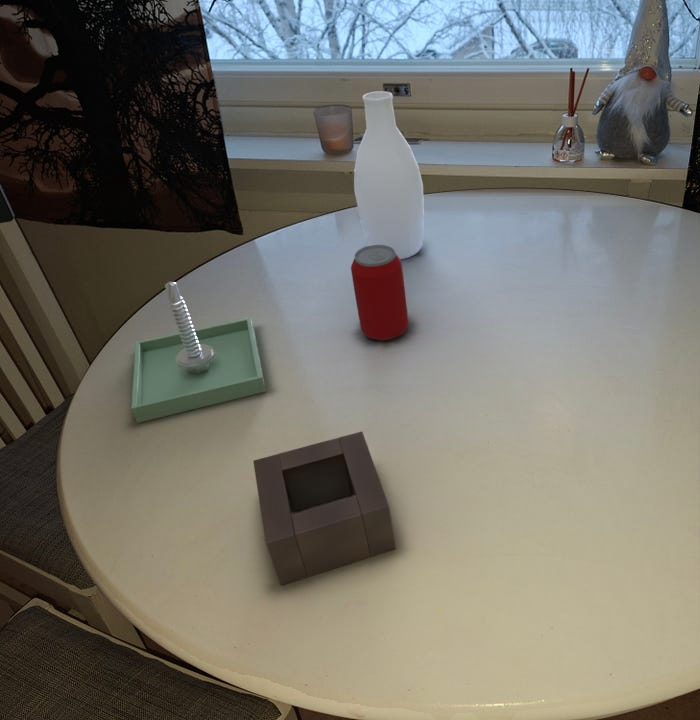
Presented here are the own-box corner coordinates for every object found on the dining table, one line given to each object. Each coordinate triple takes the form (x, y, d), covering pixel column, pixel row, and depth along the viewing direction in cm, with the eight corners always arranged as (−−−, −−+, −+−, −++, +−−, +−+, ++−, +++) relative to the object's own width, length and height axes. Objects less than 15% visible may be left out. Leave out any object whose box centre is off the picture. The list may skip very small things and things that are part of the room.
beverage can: (392, 312, 100) (382, 237, 93) (418, 331, 95) (410, 254, 88) (352, 329, 96) (339, 253, 89) (378, 349, 92) (366, 271, 85)
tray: (137, 423, 81) (131, 408, 80) (141, 355, 93) (135, 341, 92) (266, 391, 85) (262, 377, 84) (254, 330, 97) (250, 316, 96)
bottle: (378, 231, 122) (358, 83, 107) (437, 237, 119) (425, 86, 104) (352, 260, 113) (327, 104, 98) (415, 267, 111) (398, 107, 96)
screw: (224, 368, 88) (189, 384, 86) (209, 352, 91) (174, 367, 89) (196, 281, 81) (156, 296, 78) (181, 267, 84) (141, 281, 81)
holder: (280, 586, 62) (265, 543, 59) (266, 501, 70) (253, 460, 67) (396, 548, 65) (389, 506, 61) (369, 472, 73) (362, 431, 70)
